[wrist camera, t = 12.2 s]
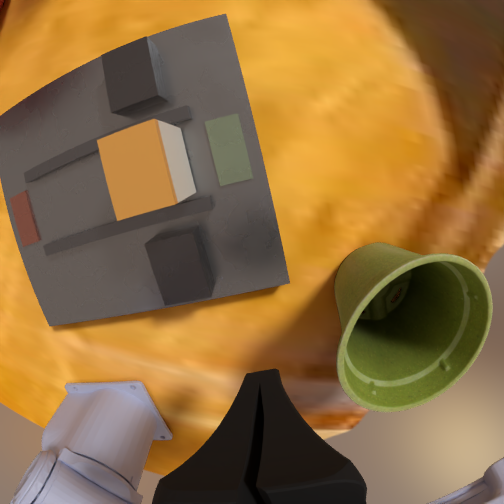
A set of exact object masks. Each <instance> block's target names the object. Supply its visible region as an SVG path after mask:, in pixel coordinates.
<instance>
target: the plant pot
mask: <svg viewBox="0 0 504 504" xmlns="http://www.w3.org/2000/svg"><path fill="white" fill-rule="evenodd" d="M400 288H401V292H400V295H399V297H398V298H397V299H396V301H394V302H393V303H391V300H392V299H393V298H394V296H395V295H396V293H397V292H398V291H399V289H400ZM334 292H335V298H336V303H337V308H338V313H339V317H340V323H341V328H342V334H341V337H340V340H339V344H338V349H337V356H336V368H337V374H338V378H339V381H340V384H341V386H342V388H343V390H344V392H345V393H346V394H347V396H348V397H349V398H350V399H351V400H352V401H354V402H355V403H356V404H358V405H360V406H361V407H364V408H366V409H370V410H373V411H377V412H397V411H402V410H408V409H411V408H414V407H417V406H420V405H423V404H425V403H427V402H429V401H431V400H433V399H435V398H436V397H438V396H439V395H441V394H442V393H444V392H445V391H447V390H448V389H449V388H451V387H452V386H453V385H454V384H455V383H456V382H457V381H458V380H459V379H460V378H461V377H462V376H463V375H464V374H465V373H466V372H467V370H468V369H469V368H470V367H471V365H472V364H473V362H474V361H475V359H476V358H477V356H478V355H479V353H480V351H481V349H482V347H483V345H484V342H485V340H486V337H487V334H488V332H489V328H490V324H491V319H492V308H493V304H492V297H491V292H490V288H489V285H488V282H487V280H486V278H485V276H484V275H483V273H482V272H481V271H480V270H479V268H478V267H476V266H475V265H474V264H473V263H471V262H470V261H468V260H466V259H464V258H462V257H459V256H456V255H452V254H444V253H440V254H429V255H419V254H416V253H413V252H410V251H407V250H404V249H402V248H399V247H396V246H393V245H390V244H386V243H373V244H369V245H366V246H363V247H361V248H358V249H356V250H355V251H353V252H352V253H351V254H350V255H349V256H348V257H347V258H346V259H345V260H344V261H343V263H342V264H341V266H340V268H339V270H338V272H337V275H336V279H335V284H334ZM362 311H365V313H363V314H361V313H362Z"/></svg>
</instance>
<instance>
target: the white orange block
mask: <svg viewBox="0 0 504 504" xmlns="http://www.w3.org/2000/svg"><path fill="white" fill-rule="evenodd" d="M97 143H98V147H99V152H100V156H101V161H102V165H103V169H104V173H105V177H106V181H107V185H108V189H109V193H110V197H111V200H112V204H113V207H114V211H115V215H116V218H117V221H119V220H122V219H126V218H129V217H133V216H136V215H140V214H143V213H147V212H150V211H154V210H157V209H161V208H164V207H168V206H172V205H175V204H177V203H179V202H181V201H182V200H184V199H186V198H187V197H189V196H191V195H193V194H194V193H196V189H195V185H194V181H193V177H192V173H191V169H190V165H189V161H188V157H187V153H186V149H185V145H184V141H183V136H182V132H181V128H178V127H176V126H173V125H170V124H168V123H165V122H162V121H159V120H157V119H152V120H149V121H146V122H143V123H140V124H137V125H135V126H132V127H129V128H127V129H124V130H121V131H119V132H116V133H114V134H111V135H109V136H106V137H104V138H101V139H99V140H97Z"/></svg>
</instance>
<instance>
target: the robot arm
mask: <svg viewBox="0 0 504 504" xmlns="http://www.w3.org/2000/svg"><path fill="white" fill-rule="evenodd" d="M133 386H135V387H133ZM65 389H66V390H67V392H68V394H67V396H66V397H65V399H64V400H63V402H62V403H61V405H60V406H59V408H58V409H57V411H56V412H55V414H54V415H53V417H52V418H51V420H50V421H49V423H48V424H47V426H46V427H45V429H44V432H43V437H42V450H43V451H41V452H40V453H39V454H38V455H37V456H36V458H35V459H34V460H33V462H32V463H31V465H30V466H29V468H28V469H27V471H26V472H25V474H24V476H23V477H22V479H21V481H20V483H19V485H18V487H17V489H16V491H15V493H14V497H13V499H12V500H11V502H10V504H141V502H142V498H143V496H142V495H140V494H138V493H137V488H138V485H139V481H140V479H141V475H142V472H143V469H144V466H145V463H146V460H147V457H148V453H149V450H150V447H151V444H152V441H153V440H171V439H172V437H173V435H172V433H171V432H170V430H169V428H168V427H167V425H166V423H165V422H164V420H163V418H162V417H161V415H160V413H159V411H158V410H157V408H156V406H155V404H154V403H153V401H152V399H151V397H150V395H149V394H148V392H147V390H146V388H145V386H144V384H143V383H142V382H140V381H124V382H101V383H67V384H66V385H65ZM366 493H367V487H366V483H365V481H364V479H363V477H362V476H361V474H360V473H359V471H358V470H357V468H356V467H355V466H354V465H353V463H352V462H351V461H350V460H349V459H348V458H346V457H344V456H343V455H342V454H340V453H339V452H337V451H336V450H335V449H333V448H332V447H331V446H330V445H328V444H327V443H326V442H325V441H324V440H323V439H322V438H321V437H320V436H319V435H317V434H316V433H315V432H314V431H313V429H312V428H311V427H310V426H309V425H308V424H307V423H306V422H305V420H304V419H303V418H302V417H301V415H300V414H299V413H298V411H297V410H296V408H295V407H294V405H293V404H292V402H291V401H290V399H289V397H288V395H287V393H286V392H285V390H284V388H283V385H282V382H281V378H280V374H279V370H277V369H270V370H265V371H259V372H253V373H247V374H246V376H245V378H244V380H243V383H242V385H241V387H240V390H239V392H238V394H237V396H236V398H235V400H234V402H233V404H232V405H231V407H230V409H229V411H228V412H227V414H226V416H225V417H224V419H223V420H222V422H221V423H220V425H219V426H218V428H217V429H216V430H215V432H214V433H213V434H212V435H211V437H210V438H209V439H208V440H207V441H206V442H205V443H204V445H203V446H202V447H201V448H200V449H199V450H198V451H197V452H196V453H195V454H194V455H193V456H191V457H190V458H189V459H188V460H187V461H186V462H184V463H183V464H182V465H181V466H179V467H178V468H177V469H175V470H174V471H172V472H171V473H169V474H168V475H166V476H165V477H163V478H162V479H160V480H159V483H158V485H157V488H156V490H155V494H154V497H153V501H152V504H366ZM428 504H504V457H503V458H502V459H500V460H498V461H497V462H495V463H494V464H492V465H491V466H490V467H489V468H488V469H487V470H486V472H485V473H484V476H483V477H482V478H480V479H478V480H476V481H474V482H473V483H471V484H469V485H467V486H465V487H463V488H461V489H459V490H457V491H455V492H453V493H450V494H448V495H446V496H444V497H442V498H439V499H437V500H435V501H432V502H430V503H428Z"/></svg>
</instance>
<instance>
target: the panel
mask: <svg viewBox="0 0 504 504" xmlns="http://www.w3.org/2000/svg"><path fill="white" fill-rule="evenodd" d="M152 119H157V120H159V121H162V122H165V123H168V124H170V125H173V126H176V127H178V128H181V132H182V136H183V141H184V145H185V149H186V153H187V157H188V161H189V165H190V169H191V173H192V177H193V181H194V185H195V189H196V193H194V194H193V195H191V196H189V197H187V198H186V199H184V200H182V201H181V202H179V203H177V204H175V205H172V206H168V207H164V208H161V209H157V210H154V211H150V212H147V213H143V214H140V215H136V216H133V217H129V218H126V219H122V220H119V221H117V218H116V215H115V211H114V207H113V204H112V200H111V197H110V193H109V189H108V185H107V181H106V177H105V173H104V169H103V165H102V161H101V156H100V152H99V147H98V143H97V140H99V139H101V138H104V137H106V136H109V135H111V134H114V133H116V132H119V131H121V130H124V129H127V128H129V127H132V126H135V125H137V124H140V123H143V122H146V121H149V120H152ZM0 178H1V183H2V188H3V192H4V197H5V201H6V205H7V209H8V213H9V217H10V221H11V224H12V228H13V231H14V235H15V238H16V241H17V244H18V248H19V251H20V254H21V257H22V260H23V262H24V265H25V268H26V271H27V274H28V276H29V279H30V282H31V284H32V287H33V289H34V292H35V294H36V297H37V299H38V301H39V304H40V306H41V308H42V311H43V313H44V315H45V317H46V320H47V322H48V324H49V326H55V325H62V324H69V323H76V322H83V321H89V320H96V319H102V318H109V317H115V316H121V315H127V314H133V313H139V312H145V311H151V310H156V309H162V308H168V307H173V306H179V305H184V304H190V303H195V302H200V301H206V300H211V299H216V298H221V297H226V296H231V295H236V294H241V293H246V292H251V291H256V290H261V289H265V288H270V287H275V286H280V285H284V284H289V283H290V281H289V276H288V271H287V266H286V261H285V257H284V252H283V247H282V242H281V238H280V233H279V228H278V224H277V219H276V215H275V210H274V205H273V201H272V197H271V192H270V188H269V183H268V179H267V174H266V170H265V166H264V162H263V157H262V153H261V149H260V145H259V140H258V136H257V132H256V128H255V124H254V120H253V116H252V111H251V107H250V103H249V99H248V95H247V91H246V88H245V84H244V80H243V76H242V72H241V68H240V64H239V60H238V57H237V53H236V49H235V45H234V42H233V38H232V34H231V30H230V27H229V23H228V20H227V16H226V14H223V15H218V16H214V17H210V18H206V19H203V20H199V21H195V22H192V23H188V24H185V25H182V26H178V27H175V28H172V29H169V30H166V31H163V32H160V33H157V34H154V35H151V36H149V37H147V36H146V37H144V38H141V39H138V40H136V41H133V42H131V43H128V44H126V45H123V46H121V47H119V48H116V49H114V50H112V51H109V52H107V53H105V54H103V55H101V56H100V57H98V58H96V59H94V60H92V61H90V62H88V63H86V64H84V65H82V66H80V67H78V68H76V69H74V70H72V71H71V72H69V73H67V74H65V75H63V76H61V77H60V78H58V79H56V80H54V81H53V82H51V83H49V84H48V85H46V86H44V87H43V88H41V89H39V90H38V91H36V92H35V93H33V94H31V95H30V96H28V97H27V98H25V99H24V100H22V101H21V102H19V103H18V104H16V105H15V106H13V107H12V108H11V109H9V110H8V111H6V112H5V113H4V114H2V115H1V116H0Z"/></svg>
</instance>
